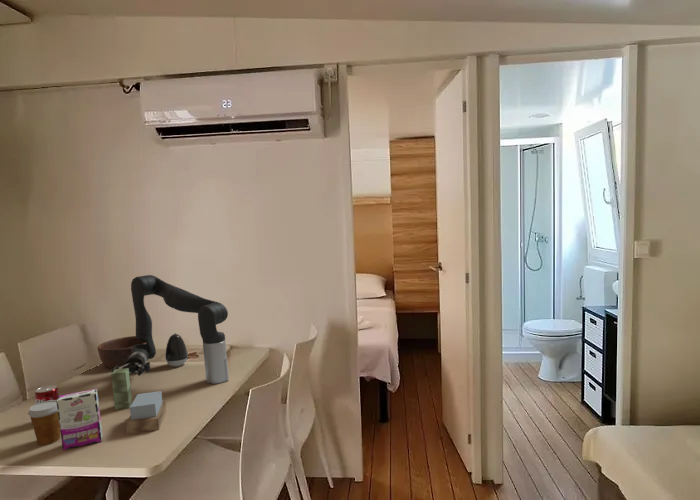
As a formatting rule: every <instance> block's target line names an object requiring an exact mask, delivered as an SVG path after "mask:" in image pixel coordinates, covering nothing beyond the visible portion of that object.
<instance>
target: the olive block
mask: <svg viewBox="0 0 700 500" xmlns="http://www.w3.org/2000/svg"><path fill="white" fill-rule="evenodd" d="M110 375H111V384H112V386H111V387H112V395H113V404H114V410H115V411H118V410H126V409H130V406H131V404H132V403H133V397H132V389H131V379H130V373H129V368H125V369H116V370H114V371H113V372H112V371H111V373H110Z"/></svg>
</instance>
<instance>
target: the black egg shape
mask: <svg viewBox="0 0 700 500" xmlns="http://www.w3.org/2000/svg"><path fill="white" fill-rule="evenodd" d="M188 357H189V353H188V349H187V346H186V344H185V341H184V339H183V337H182V336H181V335H179V334H177V333H174V334H171V335H170V336H169V338H168V340H167V343H166V347H165V357H164V358H165V361H166V363H167V364H168V366H170V367H172V368H177V367H181V365H182V366H184V365H185V364H184V363H185V362H186V363H187V361H188Z"/></svg>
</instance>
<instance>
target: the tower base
mask: <svg viewBox="0 0 700 500" xmlns="http://www.w3.org/2000/svg"><path fill="white" fill-rule="evenodd" d="M162 402H163V403H162V405H161V408H160V410H159V412H158V414H157V416H156V417H151V418H144V419H136V420H131V415H130V416H129V417H128V419H127V421H126V422H125V425H126V434H127V435H132V434H138V433H139V434H140V433H145V432H153V431H159V430H160V428H161V426H162V424H163V421H164V419H165V416H166V414H167V402H166V401H162Z"/></svg>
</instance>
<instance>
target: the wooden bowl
mask: <svg viewBox="0 0 700 500" xmlns="http://www.w3.org/2000/svg"><path fill="white" fill-rule="evenodd" d="M136 344H147V343H146V342H145V341H141V340H138V339H136V335H132V336H130V335H129V336H125V337H119V338H114V339H111V340H107V341H104V342H102V343H100V344H99V345H98V346H97V349H96V350H97V353H98V356H99V360H100V361H101V362H102V364H103V365H104V366H105V367H106V368H109V369H113V368H114V367H115V366H119V367H121V366H123V365H125V362H126V360H127V359H128V358H129V357H130V355H132V353H131V351H132V347H133V346H134V345H136Z"/></svg>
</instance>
